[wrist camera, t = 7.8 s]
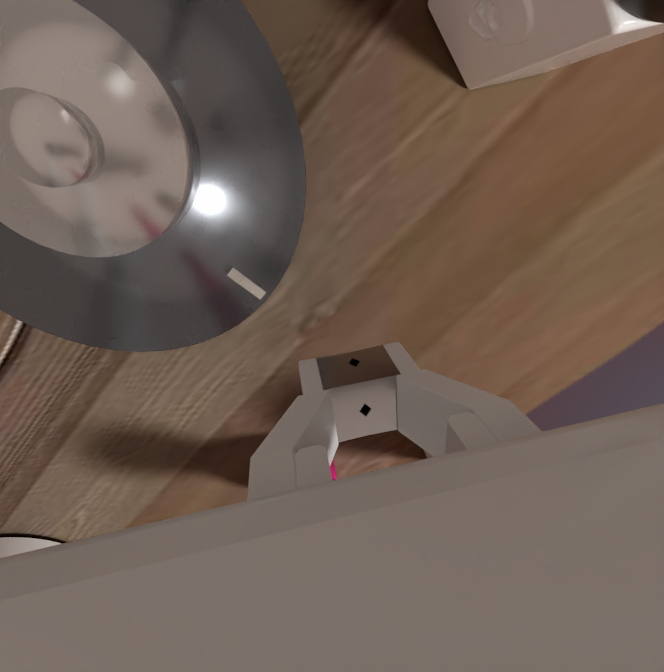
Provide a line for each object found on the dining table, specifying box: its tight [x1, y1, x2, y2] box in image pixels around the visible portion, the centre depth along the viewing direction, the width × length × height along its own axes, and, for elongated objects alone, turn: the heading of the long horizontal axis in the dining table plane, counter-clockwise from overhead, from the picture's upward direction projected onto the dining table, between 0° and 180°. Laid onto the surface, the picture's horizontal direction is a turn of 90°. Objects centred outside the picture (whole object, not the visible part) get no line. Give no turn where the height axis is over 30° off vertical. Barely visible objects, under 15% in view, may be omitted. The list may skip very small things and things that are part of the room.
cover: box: [0, 0, 201, 257], centre depth 13 cm, size 9×9×4 cm
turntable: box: [0, 0, 306, 352], centre depth 15 cm, size 20×20×5 cm
